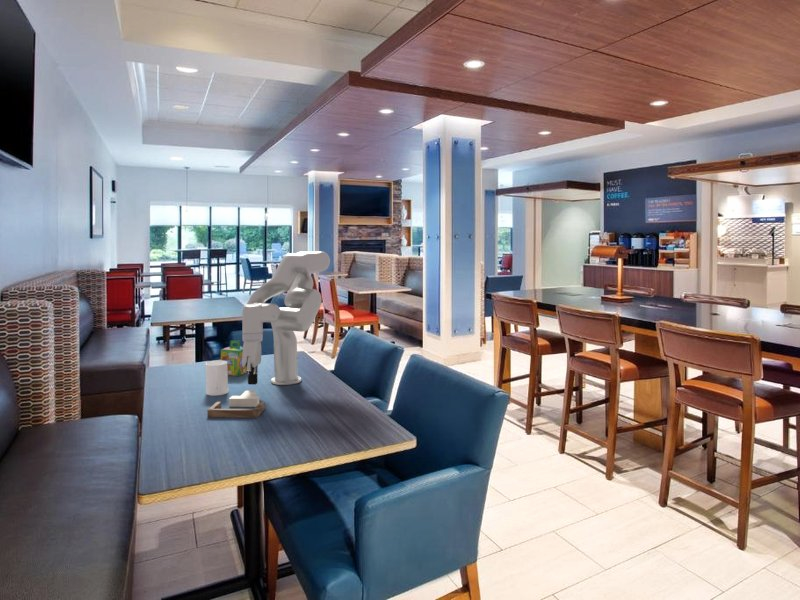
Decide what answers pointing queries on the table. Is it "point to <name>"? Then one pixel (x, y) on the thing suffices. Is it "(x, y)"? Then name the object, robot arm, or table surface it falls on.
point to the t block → (244, 400)
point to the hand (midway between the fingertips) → (252, 383)
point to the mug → (216, 378)
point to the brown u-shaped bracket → (235, 411)
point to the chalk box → (233, 359)
